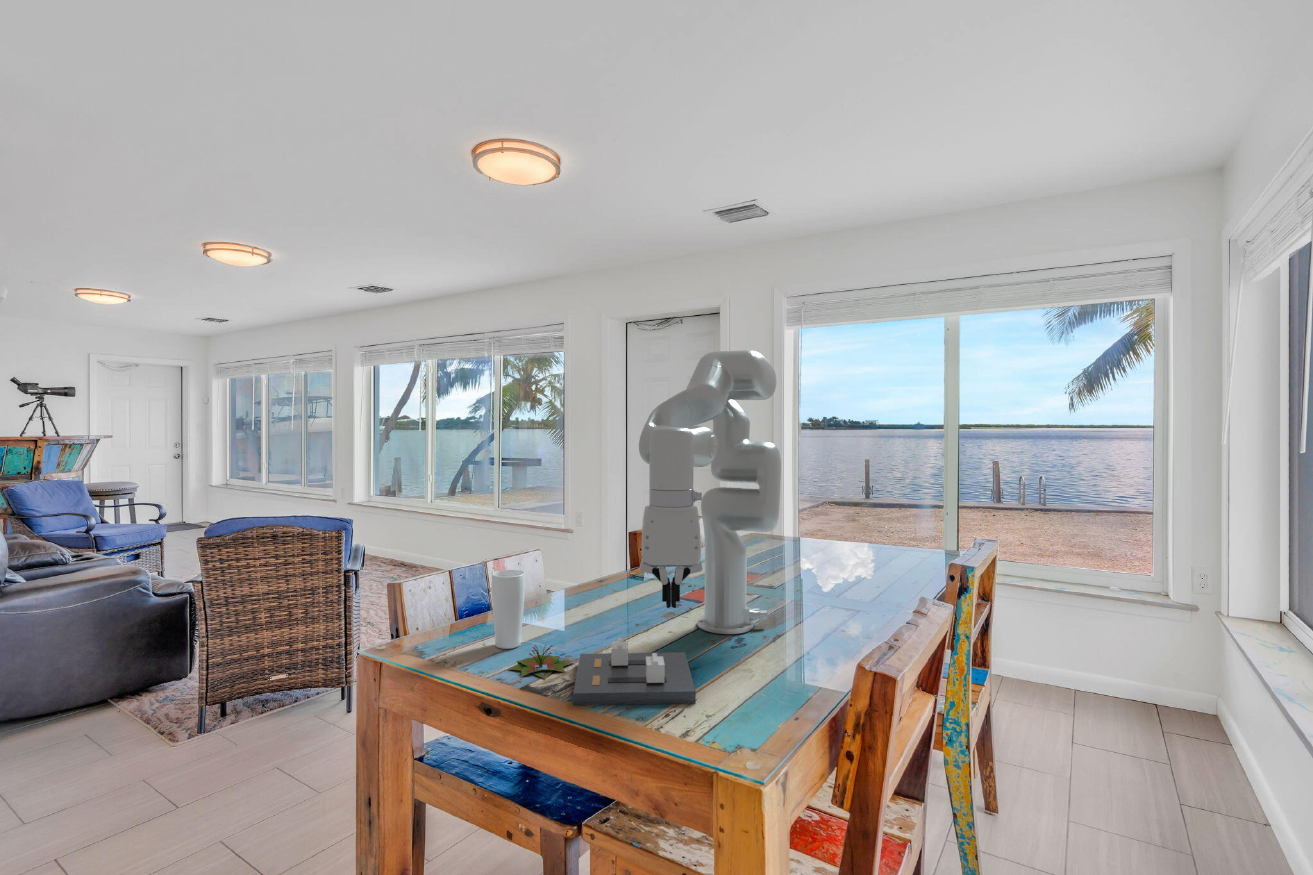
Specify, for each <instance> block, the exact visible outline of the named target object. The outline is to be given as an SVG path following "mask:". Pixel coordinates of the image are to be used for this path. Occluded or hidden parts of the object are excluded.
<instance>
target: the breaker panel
mask: <svg viewBox="0 0 1313 875" xmlns="http://www.w3.org/2000/svg"><path fill="white" fill-rule="evenodd" d="M652 653H653V652H628V665H615V666H611V652H610V653H609V652H608V653H603V652H602V653H579V659H578V665H577V670H576V676H575V682H574V687H573V694H572V696H573V698H572V699H573V700H572V703H573V706H574V707H575V706H577V707H578V706H620V705H632V706H633V705H675V704H678V705H682V704H696V703H697V700H696V699H697V697H696V696H697V691H696V687H695V683H694V680H693V677H692V672H691V670H690V666H689V663H688V658H687V655H686V652H685V651H684V652H683V651H681V652H656V653H657V656H663V659H664V664H665V682H664V683H647V681H646V657H651V656H652Z"/></svg>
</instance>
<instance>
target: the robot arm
mask: <svg viewBox="0 0 1313 875" xmlns="http://www.w3.org/2000/svg"><path fill="white" fill-rule="evenodd" d="M776 388H777V374H776V371H775V368H774V366H773V365H772V363H771V361H769V360H768V359H767V358H766V357H765V356H764V355H763V354H762V353H760V352H758V351H755V350H746V349H745V350H723V351H722V350H719V351H718V350H717V351H712V352H708V353H706V354H704V355H703V356H702V357H700V359H699V361H698V363H697V364H696V367H695V369H694V371H693V374H692V376H691V378H690V380H689V382H688V385H687V386H686V389H684V390H682V391H680V392H679V393H676V394H674V395H673V396H672V397H671V396H670V397H669V398H668V399H666V400H665V401H663V402H661V403H660V404H658V405H657V406H656V407H655V408H654V409H653V410H652V411H651V413H650V414H649V416H648V418H647V420H646V422H645V424H644V426H643V428H642V430H641V433H640V436H639V441H638V452H639V455H640V457H641V460H642V461H643V462H645V463H646V464H647V465H649V474H648V475H649V479H648V480H649V485H648V486H649V490H648V491H649V497H648V498H649V500H648V501H649V505H646V506H645V508H644V510H643V511H644V512H643V518H642V528H641V543H640V544H641V549H640V550H641V560H640V561H641V562H640V564H639V565H640V566H639V571H640V572H642V573H646V574H651V575H653V576H654V577H655V578H656V579H657V580H658V581H659V582H660V583H661V584H662V586H661V591H662V592H661V593H662V594H661V595H662V597H661V599H662V600H661V601H662V602H663V603H664V602H665V605H666V609H670V608H672V609H677V603H678V602H681V584H682V583H683V581H684V580H685V579H686V578H687V577H688V576H689V575H691V574H696V573H699V572H702V571H703V566H702V561H701V559H702V538H701V537H702V536H701V527H700V516H699V510H698V506H696V505H695V504H694V503H696V502H698V501H700V502H701V503H700V509H701V510H700V511H701V517H702V526H703V532H704V608H703V609H704V612H703V613H704V615H702V616H701V615H700V617H698V619H697V626H698V628H699V629H701V630H703V631H706V632H709V633H712V634H720V635H737V634H744V633H747V632H750V631H751V630H752V629H753V627H754V620H756V619H759V620H768V611H767V610H765V609H762V610H760V608H750V607H749V606H748V605H747V589H748V588H747V579H748V578H747V576H748V574H747V570H748V568H747V566H748V564H747V563H748V562H747V561H748V556H747V555H748V551H747V547H746V545H745V542H744V541H743V539H742V537H741V536H740V535H739V533H738V532H741V531H742V532H757V533H758V532H759V533H767V532H772V531H774V530H775V529H776V528H777V526H778V523H779V518H780V506H781V503H780V502H781V500H780V499H781V478H782V477H781V475H782V458H781V454H780V450H779V448H778V445H775V443H773V442H770V441H761V440H760V441H757V440H756V441H750V433H751V432H750V430H751V420H750V417H748V415H747V414H746V412H745V411H744V409H743V408H742V407H741V405H739V403H738V402H737V401H763V400H768V399H771V398H772V397H773V395H774V394H775V391H776ZM710 421H712V424H713V425H712V426H713V427H712V429H710V428H709V427H706V426H705V425H701V424H703V423H707V422H710ZM709 465H710V470H711V471H710V472H711V474H712V476H713V478H714V479H716V480H717V481H720V482H727V483H745V484H746V483H747V484H756V485H758V488H742V487H725V486H724V487H714V488H710V489H709V490H707V491H706V492H705V493H704V494H702V492H698V491H696V490H694V468H704V467H707V466H709ZM667 567H673V568H675V569H674V574H673V577H672V579H671V580H672V581H670V577H669V576H668V572H667Z"/></svg>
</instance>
